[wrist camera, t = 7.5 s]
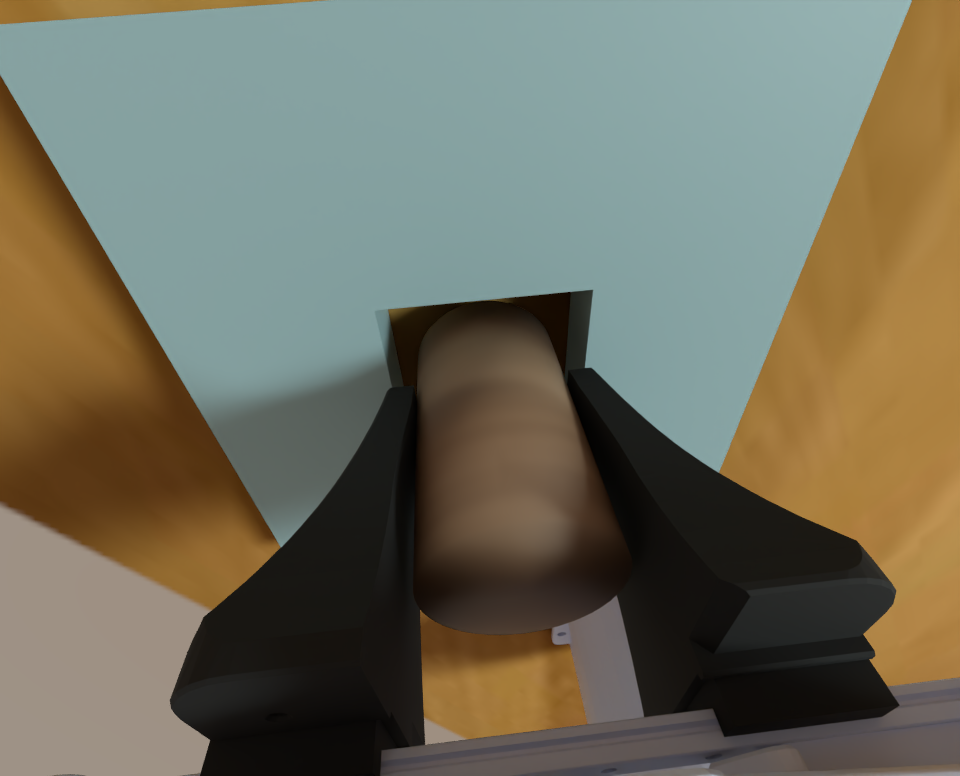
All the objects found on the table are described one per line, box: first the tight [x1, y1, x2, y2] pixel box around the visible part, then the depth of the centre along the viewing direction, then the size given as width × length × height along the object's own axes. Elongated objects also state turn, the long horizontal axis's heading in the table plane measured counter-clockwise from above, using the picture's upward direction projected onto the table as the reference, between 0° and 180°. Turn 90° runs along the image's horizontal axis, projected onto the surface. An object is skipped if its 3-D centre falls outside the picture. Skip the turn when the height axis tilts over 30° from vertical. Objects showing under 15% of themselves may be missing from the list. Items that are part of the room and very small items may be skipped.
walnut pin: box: [413, 301, 632, 635], centre depth 11 cm, size 4×4×7 cm
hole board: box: [0, 0, 912, 547], centre depth 14 cm, size 17×16×2 cm
